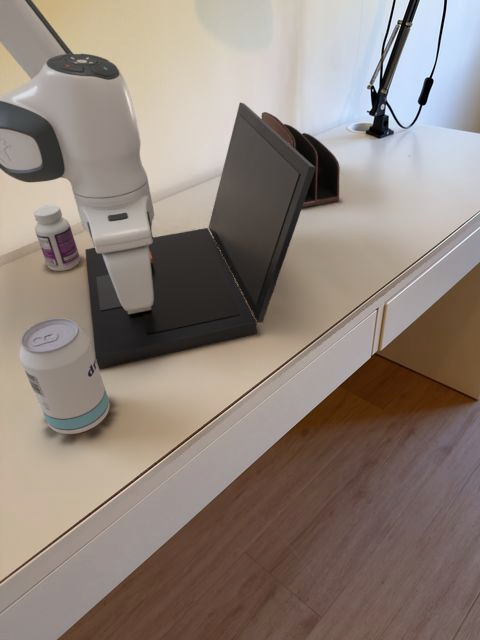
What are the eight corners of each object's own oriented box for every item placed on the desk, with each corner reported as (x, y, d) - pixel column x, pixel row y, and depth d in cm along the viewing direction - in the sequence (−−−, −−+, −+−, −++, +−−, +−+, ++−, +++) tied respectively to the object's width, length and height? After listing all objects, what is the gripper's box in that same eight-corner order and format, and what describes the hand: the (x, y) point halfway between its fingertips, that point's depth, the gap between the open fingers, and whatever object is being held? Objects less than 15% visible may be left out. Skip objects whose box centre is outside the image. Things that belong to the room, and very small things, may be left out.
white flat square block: (128, 314, 72) (127, 309, 71) (125, 302, 74) (124, 297, 74) (151, 309, 72) (150, 305, 72) (148, 297, 75) (147, 293, 74)
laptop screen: (309, 166, 59) (316, 167, 59) (239, 102, 81) (244, 103, 82) (256, 322, 70) (262, 322, 70) (207, 227, 92) (212, 228, 93)
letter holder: (291, 210, 101) (290, 134, 92) (261, 175, 116) (258, 106, 107) (339, 202, 103) (343, 127, 94) (304, 168, 118) (304, 100, 109)
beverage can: (115, 429, 59) (88, 345, 51) (51, 447, 57) (13, 363, 49) (107, 390, 64) (81, 308, 56) (48, 405, 62) (13, 323, 54)
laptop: (99, 369, 67) (95, 356, 65) (88, 259, 89) (85, 248, 88) (257, 334, 71) (256, 321, 70) (208, 238, 94) (207, 227, 92)
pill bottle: (79, 253, 91) (64, 200, 85) (81, 268, 87) (65, 213, 81) (47, 259, 90) (29, 206, 84) (47, 274, 86) (28, 219, 80)
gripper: (85, 180, 71) (109, 269, 80) (93, 248, 56) (121, 349, 65) (132, 173, 73) (150, 262, 81) (152, 237, 57) (172, 338, 66)
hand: (138, 301), depth 73 cm, fingers closed, pressing on white flat square block
